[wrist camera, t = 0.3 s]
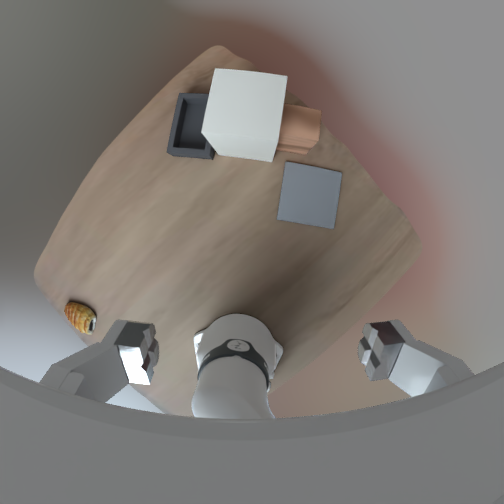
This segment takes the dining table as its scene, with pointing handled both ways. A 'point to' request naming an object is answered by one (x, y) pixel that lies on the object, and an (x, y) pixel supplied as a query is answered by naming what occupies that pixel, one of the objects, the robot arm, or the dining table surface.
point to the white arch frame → (244, 113)
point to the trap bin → (189, 128)
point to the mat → (309, 195)
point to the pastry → (81, 317)
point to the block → (298, 129)
